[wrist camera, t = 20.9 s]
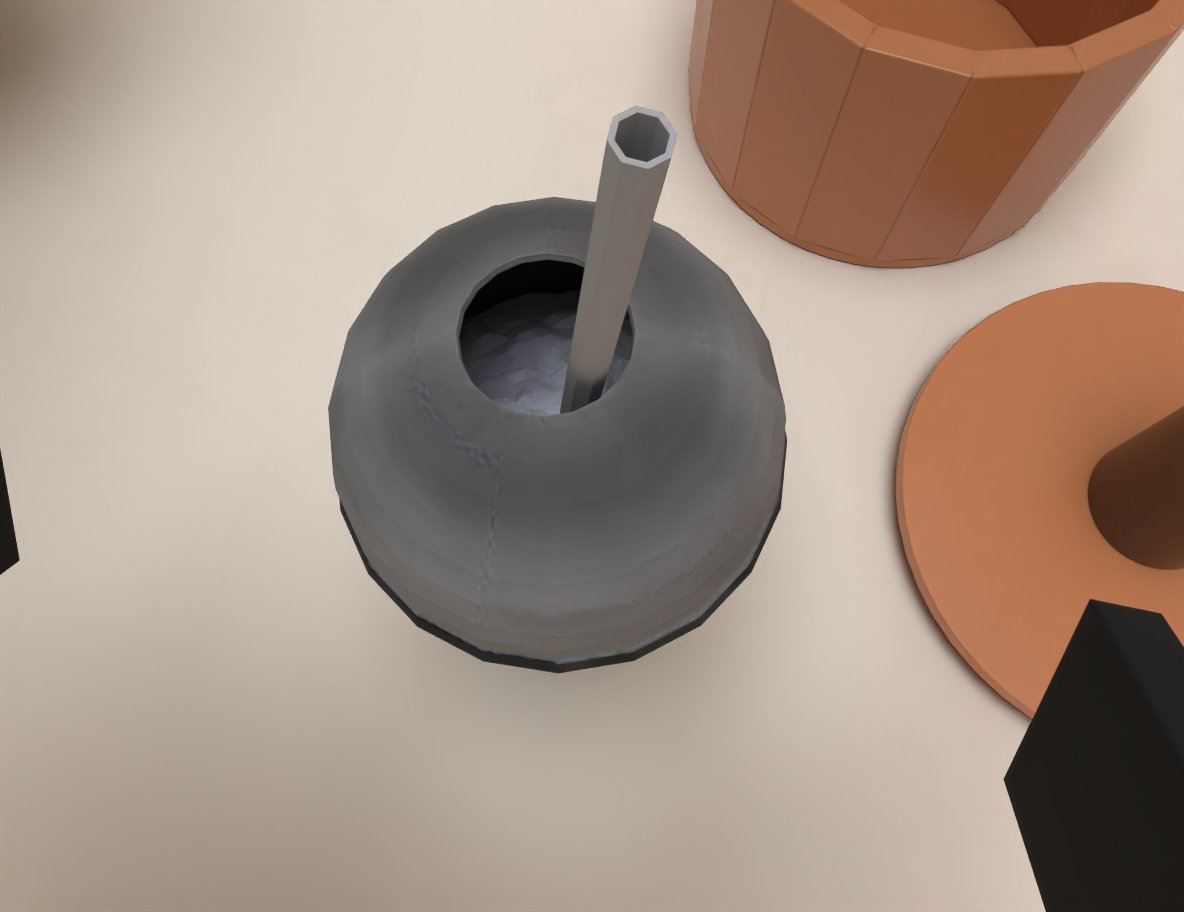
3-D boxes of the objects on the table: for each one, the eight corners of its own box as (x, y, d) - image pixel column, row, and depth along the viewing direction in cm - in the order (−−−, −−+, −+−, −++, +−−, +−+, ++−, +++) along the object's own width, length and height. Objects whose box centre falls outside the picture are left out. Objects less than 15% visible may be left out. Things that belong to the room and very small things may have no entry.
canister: (611, 115, 31) (614, -117, 22) (842, -101, 33) (917, -376, 25) (923, 344, 28) (1052, 173, 20) (1145, 87, 31) (1339, -154, 22)
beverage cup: (552, 406, 27) (433, -403, 8) (759, 547, 26) (1190, -40, 7) (396, 605, 25) (-217, 155, 6) (609, 768, 24) (628, 803, 5)
